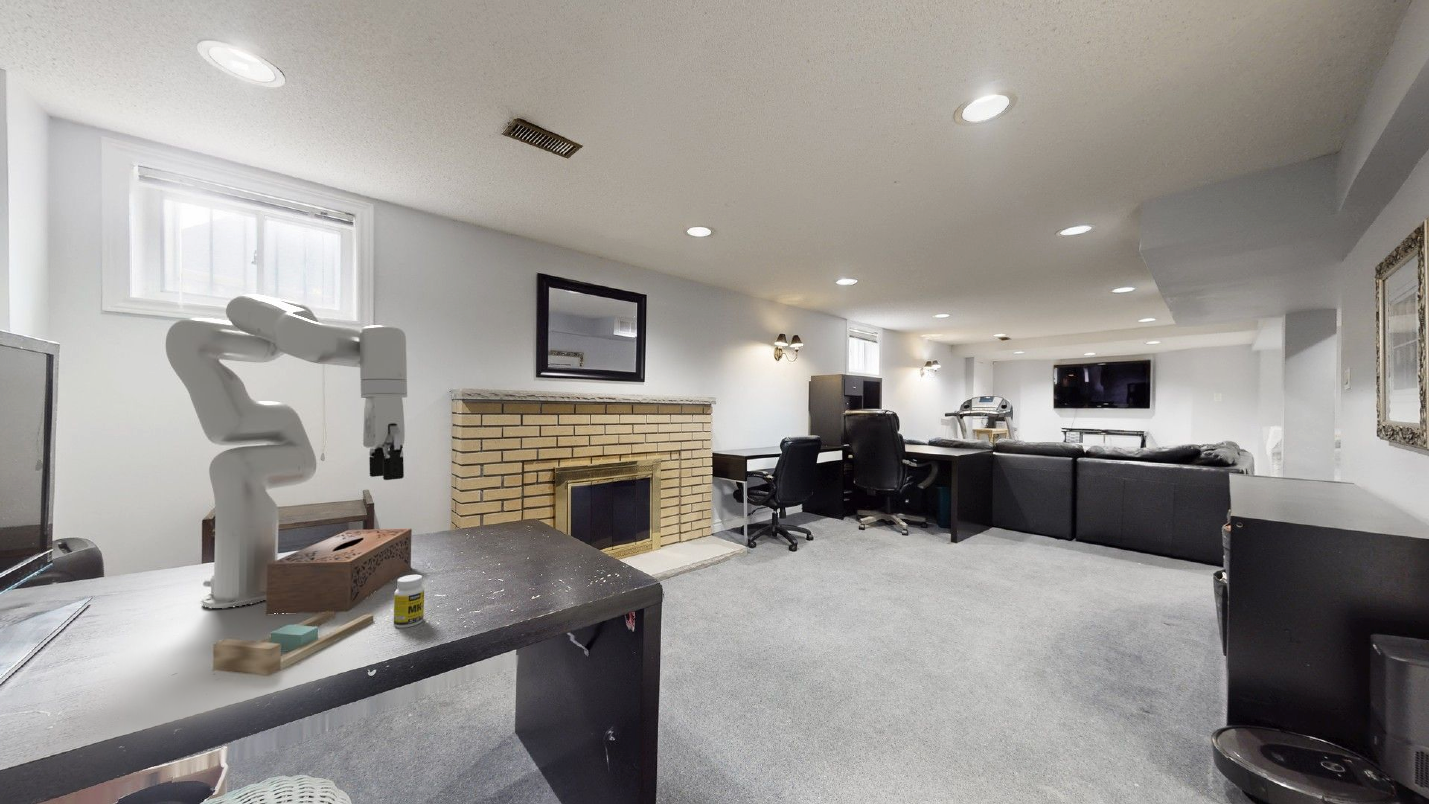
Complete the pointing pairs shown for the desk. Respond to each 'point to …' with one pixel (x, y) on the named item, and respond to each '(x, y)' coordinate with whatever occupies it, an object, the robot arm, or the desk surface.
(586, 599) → the desk surface
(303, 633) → the block
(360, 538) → the tissue box cover
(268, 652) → the track
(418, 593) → the supplement bottle
